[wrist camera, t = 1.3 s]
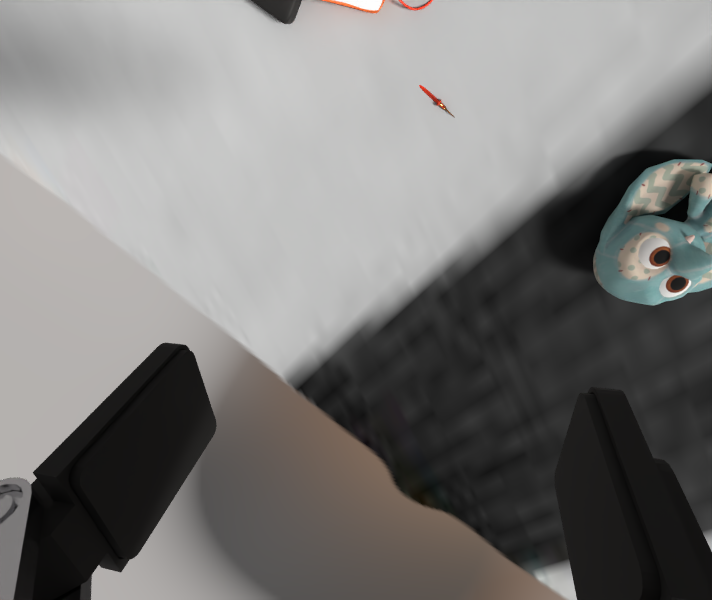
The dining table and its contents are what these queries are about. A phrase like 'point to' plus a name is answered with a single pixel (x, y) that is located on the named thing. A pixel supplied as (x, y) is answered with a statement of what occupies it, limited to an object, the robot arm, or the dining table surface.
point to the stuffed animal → (659, 236)
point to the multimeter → (285, 3)
